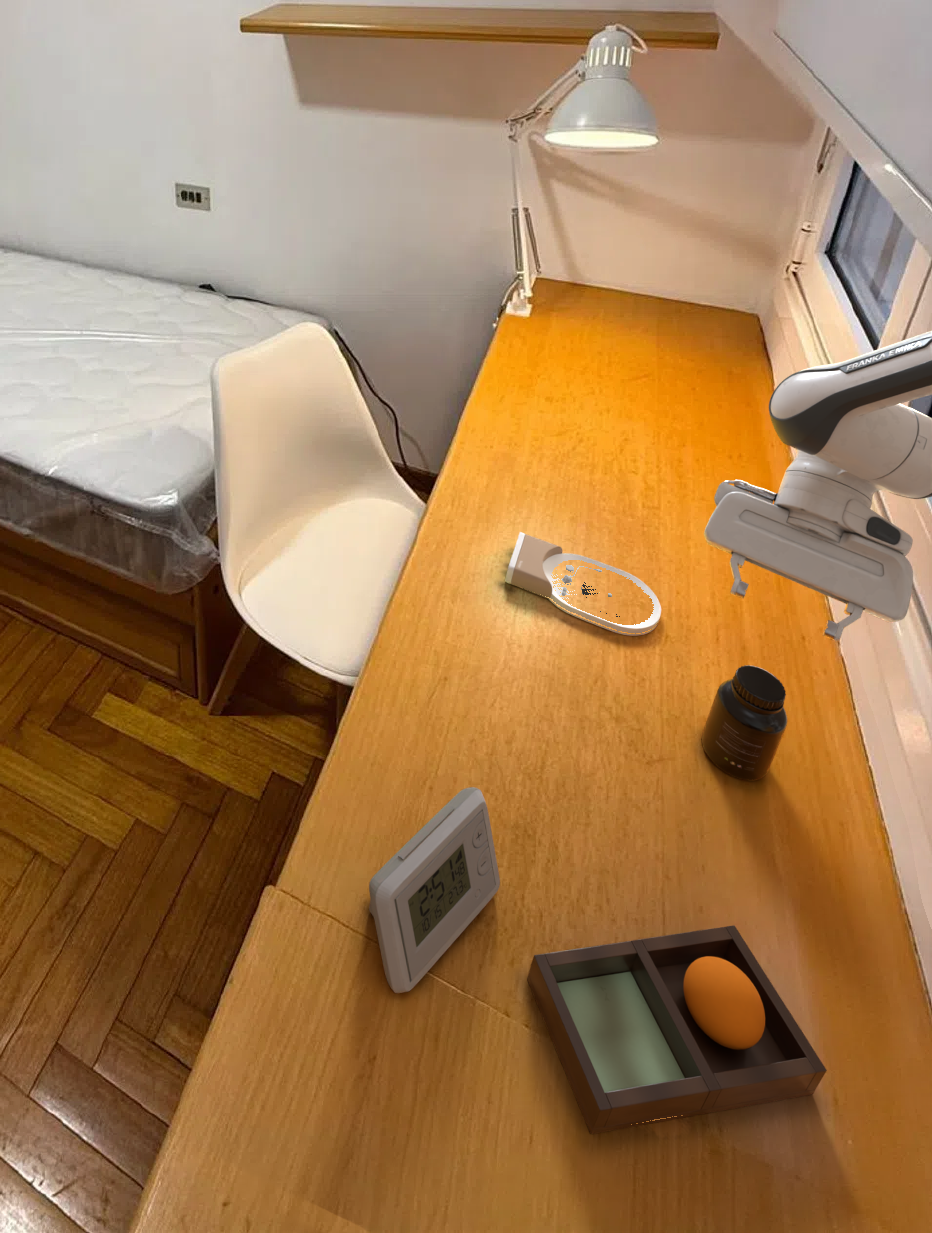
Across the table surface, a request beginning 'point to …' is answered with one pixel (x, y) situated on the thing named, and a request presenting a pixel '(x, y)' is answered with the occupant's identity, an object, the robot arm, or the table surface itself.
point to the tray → (662, 1032)
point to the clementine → (724, 1003)
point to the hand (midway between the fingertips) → (782, 616)
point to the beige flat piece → (566, 580)
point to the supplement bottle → (746, 723)
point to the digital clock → (434, 888)
